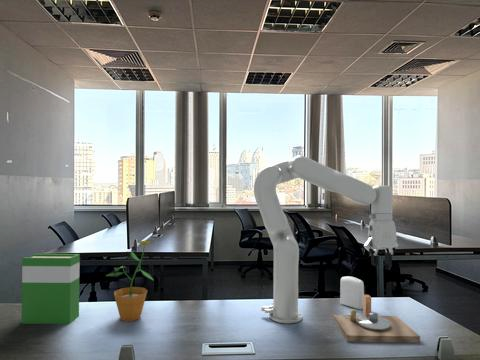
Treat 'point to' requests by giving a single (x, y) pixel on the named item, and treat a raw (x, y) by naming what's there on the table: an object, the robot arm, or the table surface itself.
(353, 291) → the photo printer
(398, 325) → the walnut board
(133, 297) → the potted plant
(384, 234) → the robot arm
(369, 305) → the flange plate
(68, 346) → the table surface
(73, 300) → the hardback book
